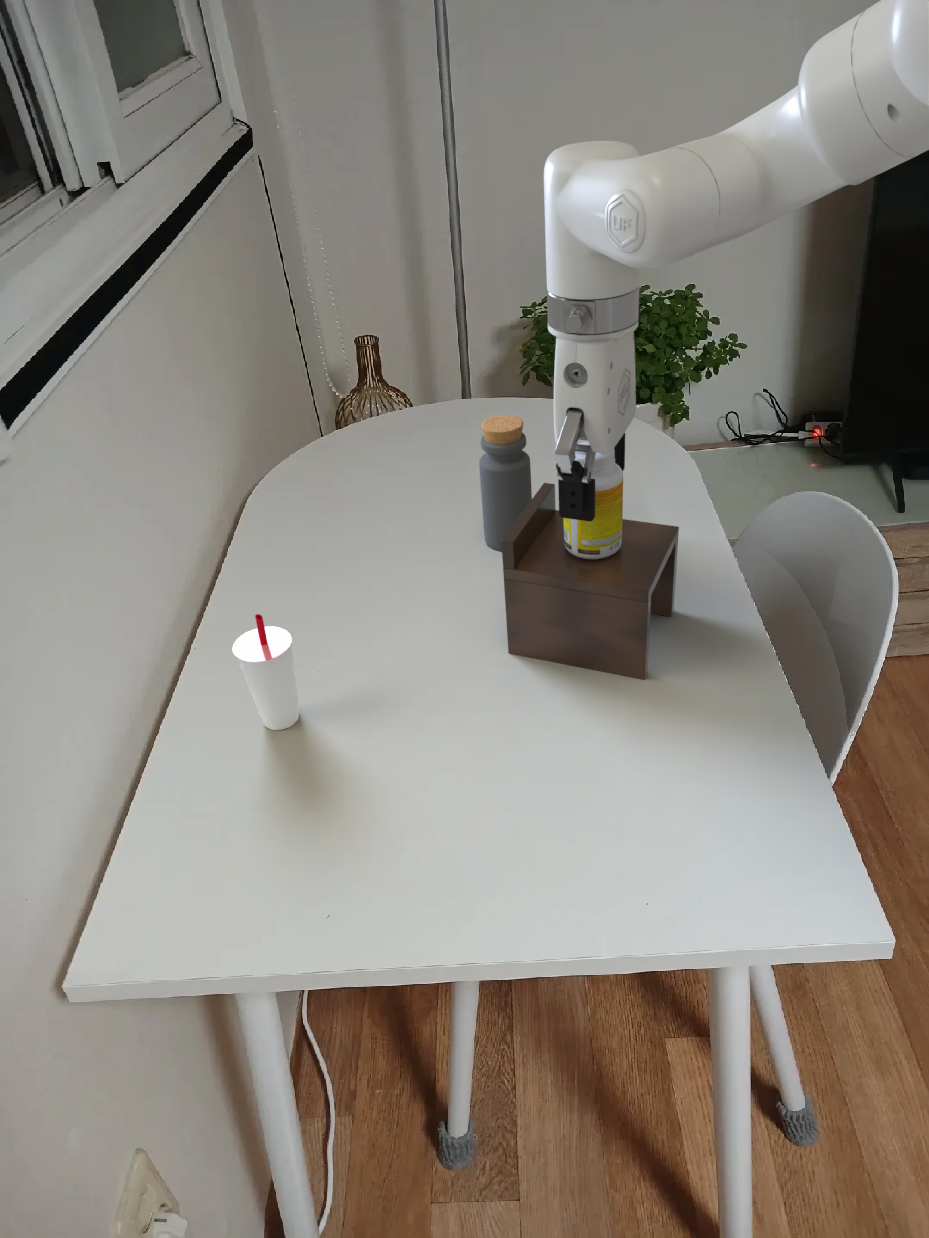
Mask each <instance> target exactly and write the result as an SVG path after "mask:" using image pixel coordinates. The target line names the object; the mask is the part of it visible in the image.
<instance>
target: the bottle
mask: <svg viewBox="0 0 929 1238" xmlns="http://www.w3.org/2000/svg"><path fill="white" fill-rule="evenodd" d="M480 427H481V430H482V432H483V435H482V436H481V438H480V448H481V449H482V451H483V452H485V453H483V454H482V455H481V457H480V458H479V460H478V462H479V463H478V465H479V467H478V468H479V480H480V481H479V482H480V495H481V508H482V521H483V522H482V523H483V533H484V534H483V535H484V540H485V544H486V546H488V547H489V548H491V549H493V550H496V551H500V552H502V543H501V541H502V539H503V538H504V537H505V535H506V534H507V532H508V531H509V530H510V528H511V527H512V526H513V524H514V523H515V522H516V520H517V519H518V518H519V516H520V515H521V513H522V512H523V511H524V509H525V508H526V507H527V505H528V504H529V503H530V501H531V500H532V499H533V493H532V490H533V489H532V469H531V458H530V455H529V454H528V453H527V452H526V451H524V449H525V448H526V446H527V436H526V434H525V433H524V432H523V429H524V420H523V419H522V418H521V417H519V416H517V415H512V414H497V415H493V416H490V417H488V418H485V419H484V420H483V421H482V422H481V424H480Z"/></svg>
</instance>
